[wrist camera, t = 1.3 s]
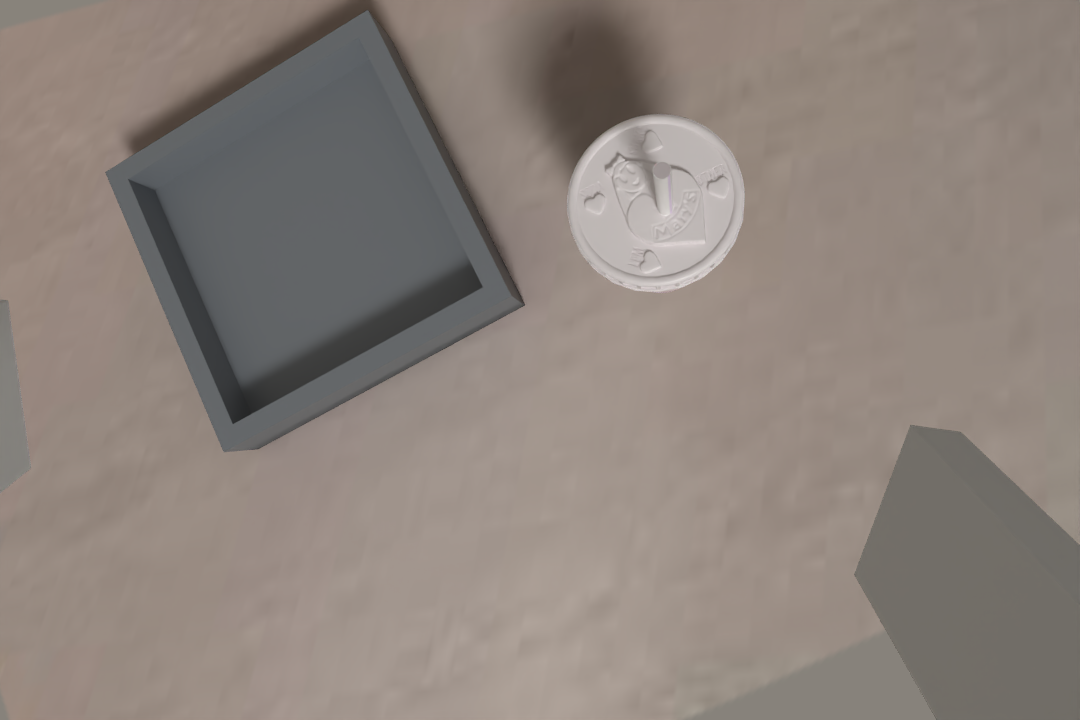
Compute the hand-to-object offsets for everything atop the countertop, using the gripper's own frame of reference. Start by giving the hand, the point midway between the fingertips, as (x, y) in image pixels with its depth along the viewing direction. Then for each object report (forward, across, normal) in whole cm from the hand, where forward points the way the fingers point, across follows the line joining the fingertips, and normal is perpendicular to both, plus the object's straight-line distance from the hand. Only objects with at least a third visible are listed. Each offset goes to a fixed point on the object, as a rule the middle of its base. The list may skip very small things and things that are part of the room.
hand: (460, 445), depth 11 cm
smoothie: (+26, +7, -3) cm, 27 cm away
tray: (+29, -10, -6) cm, 31 cm away
